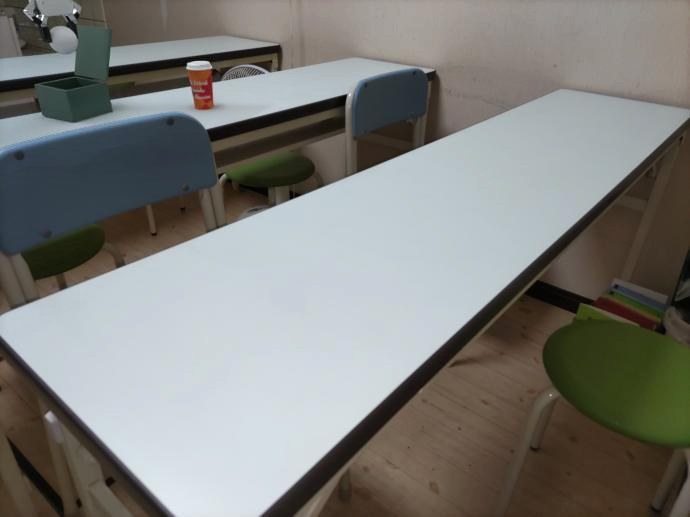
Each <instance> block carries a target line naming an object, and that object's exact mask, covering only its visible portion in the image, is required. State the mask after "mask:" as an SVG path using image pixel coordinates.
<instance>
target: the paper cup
mask: <svg viewBox="0 0 690 517" xmlns="http://www.w3.org/2000/svg"><path fill="white" fill-rule="evenodd" d="M185 69H186V70H187V74H188V79H189V84H190V88H191V94H192V99H193V104H194V109H196V110H200V111H201V110H202V111H206V110H211V109H214V108H215V107H214V106H215V105H214V104H215V103H214V88H213V86H214V85H213V72H212V71H213V70H212V69H213V66H212V64H211V63H210V61H207V60H195V61H190V62H187V63H186V67H185Z"/></svg>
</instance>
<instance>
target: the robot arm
mask: <svg viewBox="0 0 690 517" xmlns="http://www.w3.org/2000/svg"><path fill="white" fill-rule="evenodd" d="M82 9H83V8H82V6H81V5H80V4H78V3H77V2H76V1H75V0H28V4H27V5H26V6H25V7H24V9H23V11H22V12H23V13H24V14H25V15H26V17H28V19H29V20H30V21H31V22H32V23H34V24H35V26H36V27H37V28H38V32H39V35H40V39H41V40H42V42H43V43H47V44H48V43H49V44H50V43H52V39H51V35H50V30H51V29H50V27H49V26H47V23H48V19H49V17H58V16H62V17H63V18H64V19H65V21H66V24H65V27H67V28H69V29H71V30H72V31H73V32H74V33H75V35H76V37H77V39H78V32H77V31H78V27H77V25H78V20H79V18H80V14H81V11H82Z"/></svg>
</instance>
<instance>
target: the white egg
mask: <svg viewBox="0 0 690 517" xmlns="http://www.w3.org/2000/svg"><path fill="white" fill-rule="evenodd" d="M49 30H50V35H51V39H52V43H49V45H50V47H51V48H52V49H53V51H55V52H56V53H58V54H61V55H71V54H72V53H75V52H76V49H77V46H78V39H77V37H76V35H75V33H74V32H73V31H72V30H71V29H69V28H67V27H66V25H57V26H54V27H52V28H51V29H49ZM39 40H41V38H39V39H38V41H39Z"/></svg>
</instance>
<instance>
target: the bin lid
mask: <svg viewBox="0 0 690 517" xmlns="http://www.w3.org/2000/svg"><path fill="white" fill-rule="evenodd" d="M77 32H78V46H77V49H76V50H75V57H74V58H75V60H74V75H75V76H77V77H82V78H88V79H93V80H98V81H103V82H108V81H109V72H110V71H109V70H110V61H111V60H110V59H111V50H112V49H111V47H112V38H113V37H112V36H113V29H111V28H105V27H98V26H91V25H83V24H77Z"/></svg>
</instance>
